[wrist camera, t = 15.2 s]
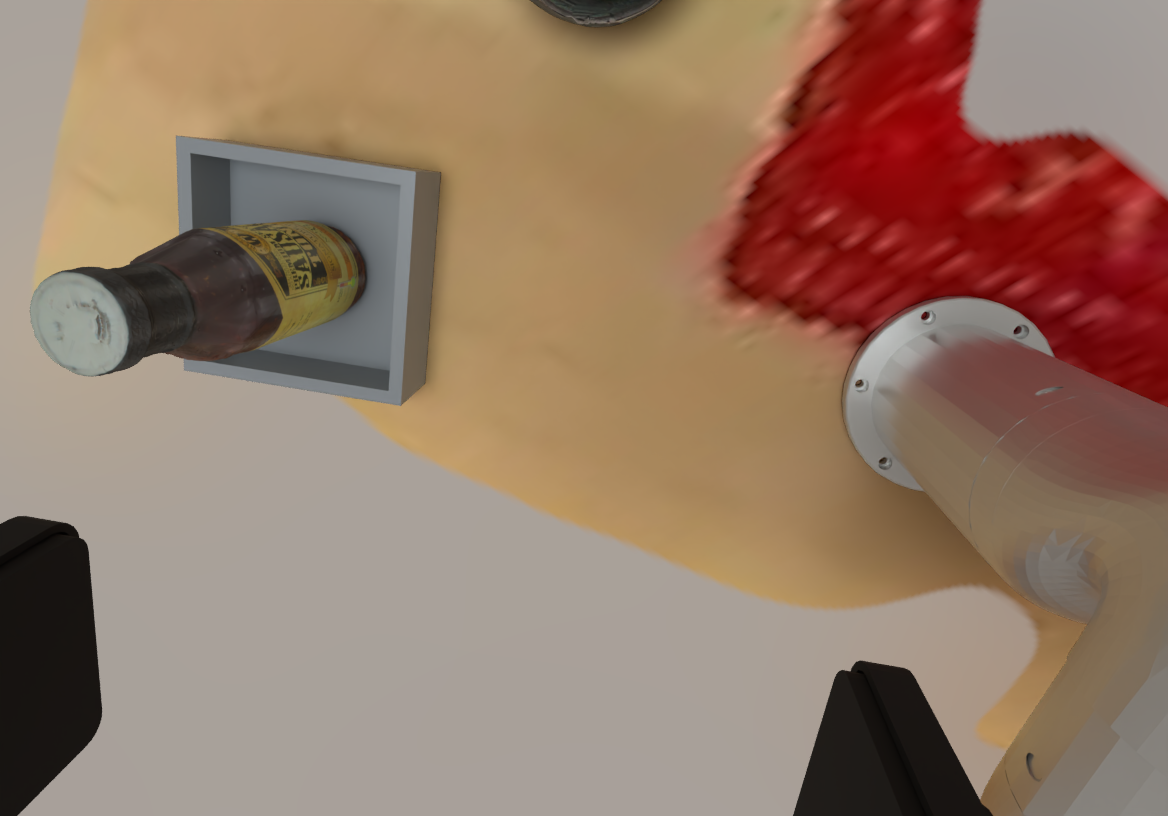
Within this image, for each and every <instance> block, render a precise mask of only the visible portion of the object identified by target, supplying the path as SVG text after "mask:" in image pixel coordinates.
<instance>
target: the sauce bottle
mask: <svg viewBox="0 0 1168 816" xmlns="http://www.w3.org/2000/svg"><path fill="white" fill-rule="evenodd" d="M365 281H366V275H365V265H364V262H363V259H362V257H361V255H360V253H359V251H358V250H357V248H356V246H355V245H354V244H353V243H352V241H351V239H350V238H349V237H347V236H346V235H344V233H343V232H342V231H341V230H338V229H336V228H334V227H331V226H328V225H324V224H321V223H318V222H314V221H309V220H299V221H284V222H273V223H260V224H245V225H232V226H223V227H210V228H198V229H192V230H189V231H186V232H184V233H182V234H180V235H179V236H177V237H175V238H173V239H171V240H169V241H167V242H165V243H164V244H162V245H160V246H158V247H156V248H154V249H152V250H150V251H148V252H146V253H144V254H142V255H140V256H138V257H136V258H135V259H134V260H133V261H131V262H130V265H126V266H124V267H121V268H112V269H104V268H100V267H80V268H76V269H72V270H65V271H61V272H58V273H55V274H53V275H52V276H50V277H48V278H47V279H45V280H44V281H43V282H41V283H40V285H39V286H38V288H37V289H36V290H35V291H34V294H33V297H32V300H31V305H30V316H31V324H32V327H33V329H34V334H35V337H36V338H37V340H38V342H39V343H40V345H41V347H42V349H43V350H44V351H45V352H46V353H47V354H48V356H49V357H50V358H51V359H52V360H53V361H54V362H56V363H57V364H59V365H60V366H62V367H64V368H66V369H68V370H69V371H71V372H73V373H75V374H78V375H83V376H101V375H105V374H110V373H113V372H116V371H121V370H125V369H128V368H130V367H132V366H134V365H135V364H137V363H138V362H139V361H140V360H141V359H142V358H143V357H148V356H150V355H153V354H157V353H166V354H172V355H174V356H176V357H179V358H183V359H186V360H193V361H214V360H220V359H226V358H228V357H231V356H232V355H235V354H238V353H244V352H248V351H252V350H255V349H258V348H260V347H263V346H265V345H268V344H271V343H273V342H276V341H279V340H281V339H284V338H286V337H289V336H292V335H295V334H297V333H300V332H303V331H306V330H308V329H311V328H314V327H316V326H319V325H321V324H324V323H327V322H329V321H332V320H334V319H336V318H337V317H339V316H340V315H342V314H343V313H344V312H346V311H347V310H349V309H350V308H351V307H352V306H353V305H354V304H355V303H356V302H357V301H358V300H359V298H360V297H361V295H362V293H363V290H364V286H365Z"/></svg>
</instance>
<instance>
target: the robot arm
mask: <svg viewBox="0 0 1168 816" xmlns="http://www.w3.org/2000/svg"><path fill="white" fill-rule="evenodd" d="M924 312H927V316H926V318H924V319H921V315H922V314H923V313H924ZM1017 326H1018V330H1017V331H1016V332H1015V333H1014V329H1015V328H1016V327H1017ZM859 379H861V380H862V382H861V384H860V385H858V386H856V385H855V383H856V381H858V380H859ZM842 408H843V419H844V423H845V426H846V429H847V432H848V436H849V438H850V440H851V441H852V443H853V445H854V446H855V448H856V450H857V452H858V453H859V454H860V455H861V457H862V458H863V459H864V460H865V462H866V463H867V464H868V465H869V466H870V467H871V468H872V469H873V470H874V471H876V472H877V473H878V474H879V475H881V476H883V477H885V478H886V479H888V480H890V481H891V482H893V483H895V484H898V485H900V486H903V487H906V488H909V489H912V490H917V491H923V492H926V493H927V494H928V496H929V497H930V498H931V499H932V500H933V501H934V502H935V504H936V505H937V506H938V507H939V508H940V509H941V510H942V512H943V513H944V514H945V515H946V516H947V517H948V518H949V520H950V521H951V522H952V523H953V524H954V525H955V526H956V527H957V529H958V530H959V531H960V532H961V533H962V534H963V535H964V537H965V538H966V539H967V540H968V541H969V542H970V543H971V545H972V546H973V547H974V548H975V549H976V550H977V551H978V553H979V554H980V555H981V556H982V557H983V558H984V559H985V560H986V562H987V563H988V564H989V565H990V566H991V567H992V568H993V569H994V570H995V571H996V572H997V573H998V575H999V576H1000V577H1001V578H1002V579H1003V580H1004V581H1005V582H1006V583H1007V584H1008V585H1009V586H1010V587H1012V588H1013V589H1014V590H1015V591H1016V592H1017V593H1019V594H1020V595H1021V596H1023V597H1024V598H1026V599H1027V600H1029V601H1030V602H1032V603H1033V604H1035V605H1037V606H1039V607H1040V608H1042V609H1044V610H1046V611H1049V612H1051V613H1054V614H1056V615H1059V616H1062V617H1064V618H1067V619H1070V620H1073V621H1076V622H1080V623H1084V624H1087V626H1086V628H1085V629H1084V631H1083V632H1082V634H1081V636H1080V637H1079V639H1078V640H1077V642H1076V643H1075V645H1074V646H1073V648H1072V649H1071V651H1070V652H1069V654H1068V656H1067V661H1066V663H1065V664H1064V666H1063V667H1062V669H1061V670H1060V672H1059V673H1058V675H1057V676H1056V678H1055V679H1054V681H1053V682H1052V684H1051V685H1050V687H1049V688H1048V690H1047V691H1046V693H1045V694H1044V696H1043V697H1042V699H1041V700H1040V702H1039V703H1038V705H1037V706H1036V708H1035V709H1034V711H1033V712H1032V714H1031V715H1030V717H1029V718H1028V720H1027V721H1026V723H1025V724H1024V726H1023V727H1022V729H1021V730H1020V732H1019V733H1018V735H1017V736H1016V738H1015V739H1014V741H1013V742H1012V744H1011V745H1010V747H1009V748H1008V750H1007V751H1006V753H1005V755H1004V756H1003V758H1002V760H1001V761H1000V763H999V764H998V766H997V767H996V769H995V771H994V772H993V774H992V776H991V778H990V780H989V781H988V783H987V785H986V787H985V789H984V792H983V794H982V796H981V799H979V798H978V796H977V794H976V792H975V790H974V788H973V786H972V784H971V783H970V781H969V779H968V777H967V775H966V773H965V771H964V769H963V767H962V766H961V764H960V762H959V760H958V758H957V756H956V754H955V753H954V751H953V749H952V747H951V745H950V743H949V741H948V739H947V737H946V735H945V734H944V732H943V730H942V728H941V726H940V724H939V722H938V720H937V719H936V717H935V715H934V713H933V711H932V709H931V707H930V705H929V704H928V702H927V700H926V698H925V696H924V694H923V692H922V690H921V688H920V687H919V685H918V683H917V681H916V679H915V677H914V676H913V674H912V673H911V672H910V671H909V670H907V669H905V668H900V667H895V666H889V665H883V664H877V663H871V662H866V661H858V662H856V663H855V664H854V666H853V667H852V669H851V671H844V670H841V671H839V672H838V673H837V674H836V677H835V679H834V682H833V686H832V689H831V692H830V696H829V698H828V702H827V705H826V709H825V712H824V715H823V718H822V722H821V725H820V728H819V732H818V735H817V738H816V741H815V745H814V748H813V751H812V755H811V758H810V761H809V765H808V768H807V771H806V775H805V778H804V781H803V784H802V788H801V791H800V794H799V798H798V801H797V804H796V808H795V811H794V814H793V816H1168V407H1165V406H1163V405H1161V404H1159V403H1156V402H1154V401H1151V400H1149V399H1147V398H1145V397H1142V396H1140V395H1138V394H1136V393H1133V392H1131V391H1129V390H1127V389H1124V388H1122V387H1120V386H1118V385H1115V384H1113V383H1111V382H1109V381H1106V380H1104V379H1102V378H1100V377H1097V376H1095V375H1093V374H1091V373H1088V372H1086V371H1084V370H1082V369H1079V368H1077V367H1075V366H1073V365H1070V364H1068V363H1066V362H1064V361H1061V360H1059V359H1057V358H1055V356H1054V354H1053V352H1052V350H1051V348H1050V346H1049V343H1048V341H1047V339H1046V338H1045V337H1044V336H1043V334H1042V333H1041V332H1040V331H1039V329H1038V328H1037V327H1036V326H1035V324H1033V323H1032V322H1031V321H1029V320H1028V319H1027V318H1026V317H1024V316H1023V315H1022V314H1021V313H1019V312H1017V311H1015V310H1013V309H1011V308H1009V307H1007V306H1005V305H1003V304H1000V303H997V302H994V301H991V300H988V299H983V298H976V297H970V296H949V297H941V298H937V299H932V300H927V301H924V302H921V303H919V304H916V305H914V306H911V307H909V308H906V309H904V310H903V311H901V312H899V313H898V314H896V315H894V316H893V317H891V318H890V319H888V320H887V321H885V322H884V323H883V324H882V325H881V326H880V327H879V328H878V329H876V330H875V331H874V332H873V333H872V334H871V335H870V336H869V338H868V339H867V340H866V341H865V343H864V344H863V345H862V346H861V348H860V349H859V350H858V352H857V354H856V356H855V358H854V360H853V361H852V363H851V365H850V367H849V370H848V373H847V377H846V380H845V383H844V389H843V398H842ZM883 457H885V459H884V460H883V461H880V462H879V460H880V459H881V458H883ZM101 717H102V703H101V693H100V680H99V668H98V657H97V645H96V633H95V621H94V609H93V599H92V586H91V574H90V563H89V551H88V546H87V544H86V542H85V541H84V540H83V539H81V538H79V534H78V532H77V530H76V529H75V528H74V526H71V525H70V524H68V523H62V522H56V521H51V520H45V519H39V518H34V517H27V516H17V517H15V518H12V519H9V520H7V521H5V522H3V523H2V524H0V816H17V815H18V814H19V813H20V812H21V811H22V810H23V809H24V808H25V807H26V806H27V805H28V804H29V803H30V802H31V801H32V800H33V799H34V798H35V797H36V796H37V795H38V794H39V793H40V792H41V791H42V790H43V789H44V788H45V787H46V786H47V785H48V784H49V783H50V782H51V781H52V780H53V779H54V778H55V777H56V776H57V775H58V774H59V773H60V772H61V771H62V770H63V769H64V768H65V767H66V766H67V765H68V764H69V763H70V762H71V761H72V760H73V759H74V758H75V757H76V756H77V755H78V754H79V753H80V752H81V751H82V750H83V749H84V748H85V747H86V746H87V745H88V743H89V742H90V741H91V740H92V738H93V737H94V735H95V733H96V732H97V729H98V727H99V724H100V721H101Z"/></svg>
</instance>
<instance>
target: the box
mask: <svg viewBox="0 0 1168 816" xmlns="http://www.w3.org/2000/svg"><path fill="white" fill-rule="evenodd" d="M176 153H177V182H178V211H179V235H180V234H182V233H184V232H186V231H189V230H192V229H198V228H210V227H223V226H232V225H245V224H260V223H273V222H284V221H299V220H309V221H314V222H318V223H321V224H324V225H328V226H331V227H334V228H336V229H338V230H341V231H342V232H343V233H344V235H346V236H347V237H349V238H350V239H351V241H352V243H353V244H354V245H355V246H356V248H357V250H358V251H359V253H360V255H361V257H362V259H363V262H364V265H365V275H366V281H365V286H364V290H363V293H362V295H361V297H360V298H359V300H358V301H357V302H356V303H355V304H354V305H353V306H352V307H351V308H350V309H349V310H347V311H346V312H344V313H343V314H342V315H340V316H339V317H337V318H336V319H334V320H332V321H329V322H327V323H324V324H321V325H319V326H316V327H314V328H311V329H308V330H306V331H303V332H300V333H297V334H295V335H292V336H289V337H286V338H284V339H281V340H279V341H276V342H273V343H271V344H268V345H265V346H263V347H260V348H258V349H255V350H252V351H248V352H244V353H238V354H235V355H232V356H231V357H228V358H226V359H220V360H214V361H193V360H186V359H184V370H185V371H191V372H197V373H203V374H210V375H216V376H222V377H228V378H234V379H241V380H246V381H252V382H258V383H265V384H271V385H277V386H283V387H289V388H295V389H301V390H307V391H314V392H320V393H326V394H332V395H338V396H344V397H350V398H356V399H362V400H369V401H375V402H381V403H387V404H393V405H399V406H401V405H402V404H403V403H404V402H405V401H407V400H408V399H409V398H410V397H411V396H412V395H413V394H414V393H415V392H416V391H417V390H419V389H420V388H421V387H422V386H423V385H424V384H425V378H426V365H427V352H428V338H429V325H430V312H431V298H432V285H433V272H434V258H435V245H436V232H437V218H438V205H439V192H440V178H441V172H434V171H428V170H421V169H415V168H408V167H401V166H395V165H388V164H381V163H375V162H368V161H361V160H355V159H348V158H341V157H335V156H328V155H322V154H315V153H308V152H302V151H295V150H288V149H282V148H275V147H268V146H262V145H255V144H248V143H242V142H235V141H229V140H219V139H208V138H196V137H185V136H176Z"/></svg>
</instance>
